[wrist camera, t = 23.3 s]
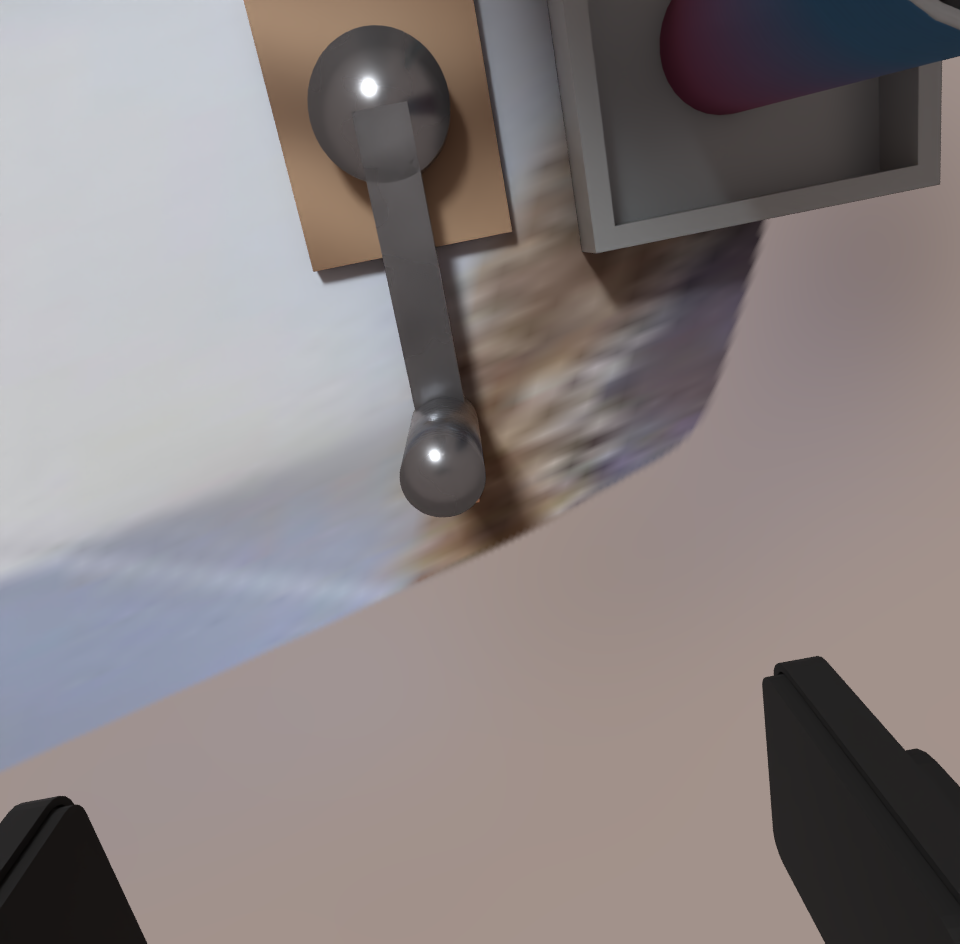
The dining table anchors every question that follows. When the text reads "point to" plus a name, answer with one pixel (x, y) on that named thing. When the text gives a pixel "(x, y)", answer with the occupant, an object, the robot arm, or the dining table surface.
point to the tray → (721, 136)
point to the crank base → (333, 192)
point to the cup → (796, 46)
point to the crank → (404, 239)
